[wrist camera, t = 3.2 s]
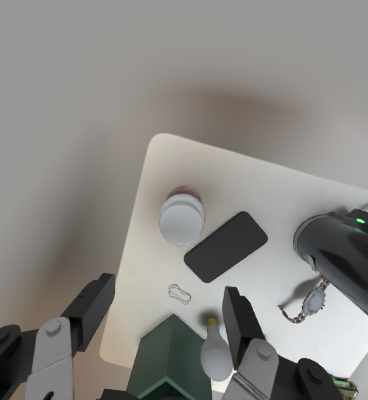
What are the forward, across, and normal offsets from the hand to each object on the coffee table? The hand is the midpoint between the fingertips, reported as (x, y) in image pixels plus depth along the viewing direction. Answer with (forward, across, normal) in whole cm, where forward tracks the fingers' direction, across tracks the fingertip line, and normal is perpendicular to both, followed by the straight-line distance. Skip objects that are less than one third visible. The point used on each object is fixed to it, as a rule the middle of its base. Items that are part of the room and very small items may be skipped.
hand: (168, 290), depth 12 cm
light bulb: (+20, -8, +23) cm, 31 cm away
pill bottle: (+20, 0, -2) cm, 20 cm away
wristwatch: (+20, -26, +13) cm, 35 cm away
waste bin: (+19, -1, +30) cm, 36 cm away
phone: (+19, -8, +6) cm, 22 cm away
